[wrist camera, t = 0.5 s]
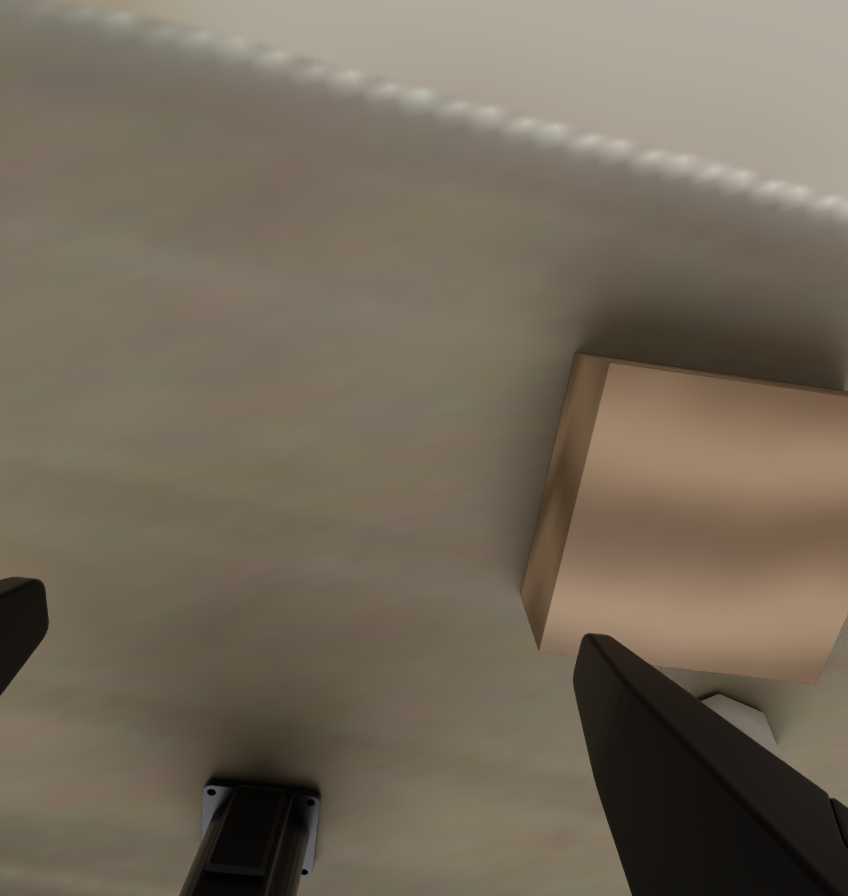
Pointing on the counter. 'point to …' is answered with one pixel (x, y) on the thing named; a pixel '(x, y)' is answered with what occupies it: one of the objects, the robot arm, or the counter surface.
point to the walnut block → (694, 520)
